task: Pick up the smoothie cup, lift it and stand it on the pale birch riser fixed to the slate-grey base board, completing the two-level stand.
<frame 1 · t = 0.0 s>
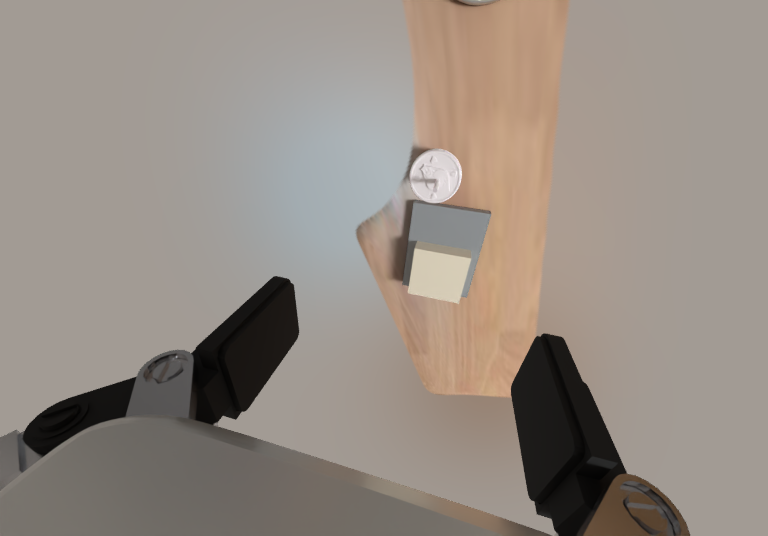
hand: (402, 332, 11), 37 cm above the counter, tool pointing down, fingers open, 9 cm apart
base board: (442, 249, 49), on the counter
smoothie: (439, 163, 42), on the counter
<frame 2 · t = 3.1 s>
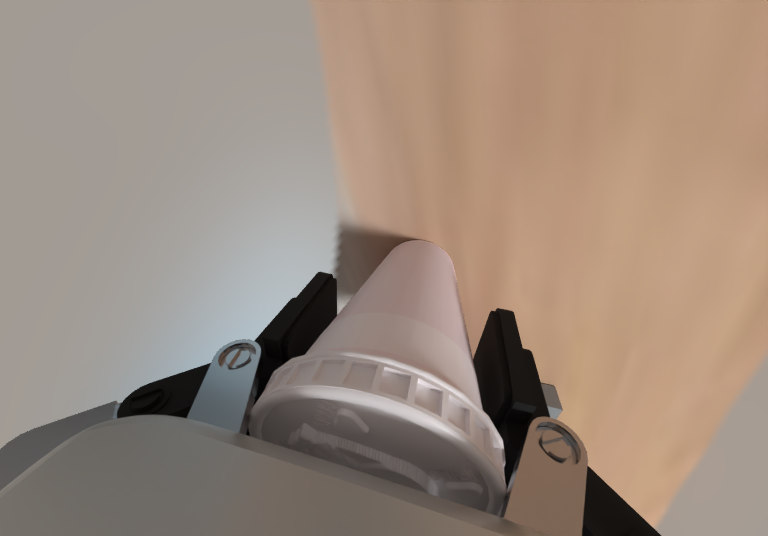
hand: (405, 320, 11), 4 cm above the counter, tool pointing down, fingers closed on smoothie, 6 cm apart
base board: (431, 430, 21), on the counter
smoothie: (418, 269, 15), on the counter, touching gripper
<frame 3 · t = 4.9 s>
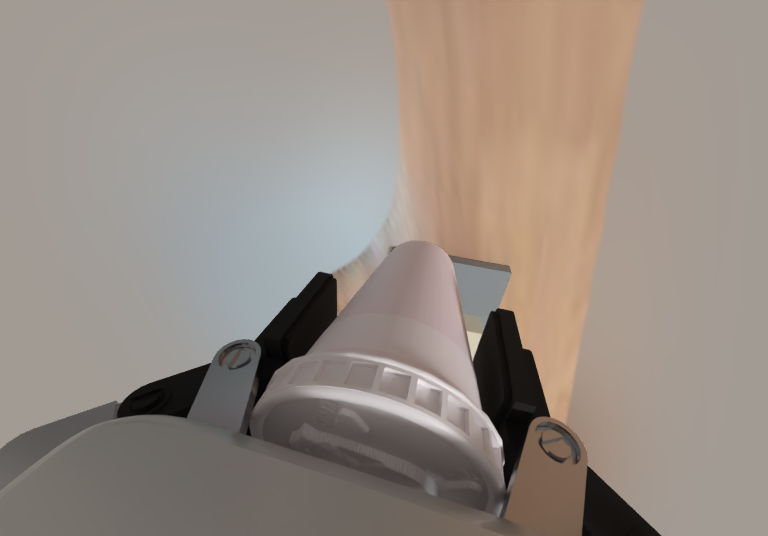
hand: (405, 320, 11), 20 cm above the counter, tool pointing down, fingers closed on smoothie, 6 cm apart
base board: (441, 311, 35), on the counter
smoothie: (418, 270, 15), point 16 cm above the counter, touching gripper
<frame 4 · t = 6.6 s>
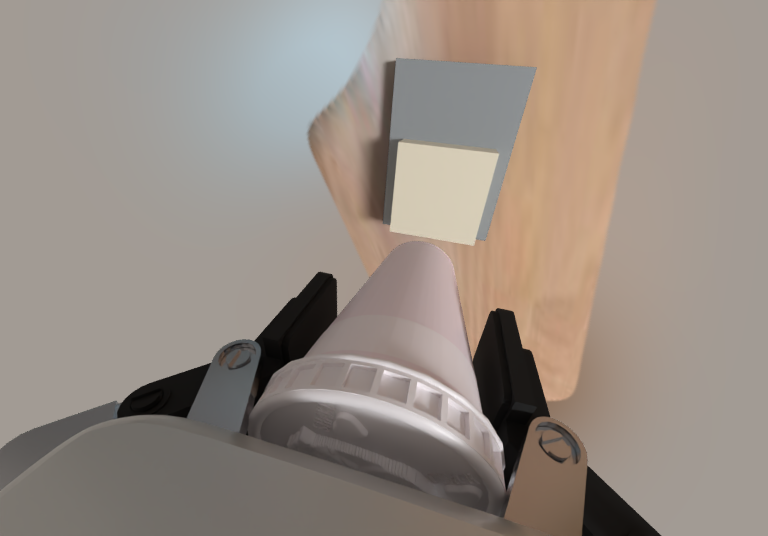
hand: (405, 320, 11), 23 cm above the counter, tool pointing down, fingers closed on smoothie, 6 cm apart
base board: (446, 157, 29), on the counter
smoothie: (418, 271, 15), point 19 cm above the counter, touching gripper
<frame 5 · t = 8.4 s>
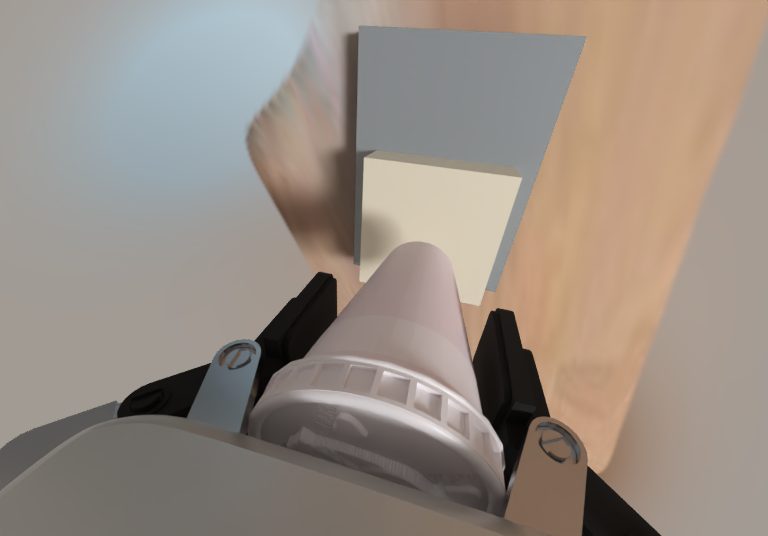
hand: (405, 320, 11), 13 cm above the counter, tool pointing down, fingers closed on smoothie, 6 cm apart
base board: (440, 176, 20), on the counter
smoothie: (418, 271, 15), point 9 cm above the counter, touching gripper
when the fingers open (10 cm above the counter, at t = 9.9 s): smoothie drops 1 cm, resting on base board.
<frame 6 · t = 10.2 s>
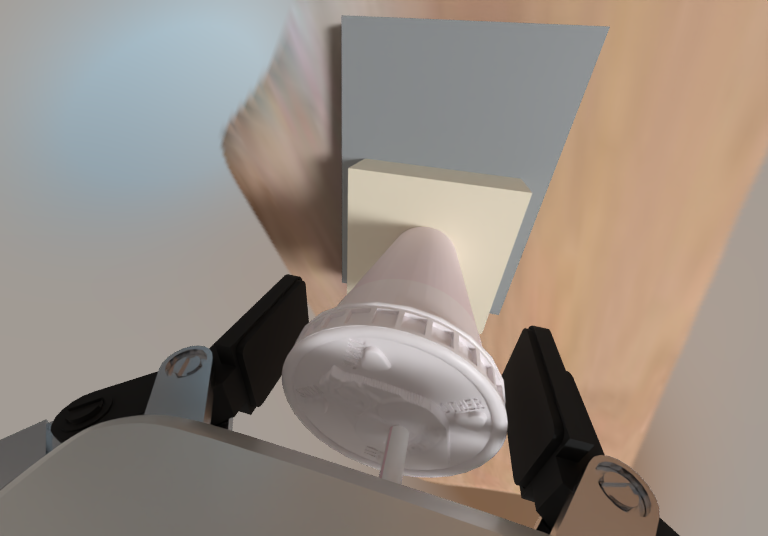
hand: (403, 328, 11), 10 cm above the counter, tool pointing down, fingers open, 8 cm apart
base board: (436, 187, 18), on the counter
smoothie: (423, 255, 16), point 4 cm above the counter, touching base board
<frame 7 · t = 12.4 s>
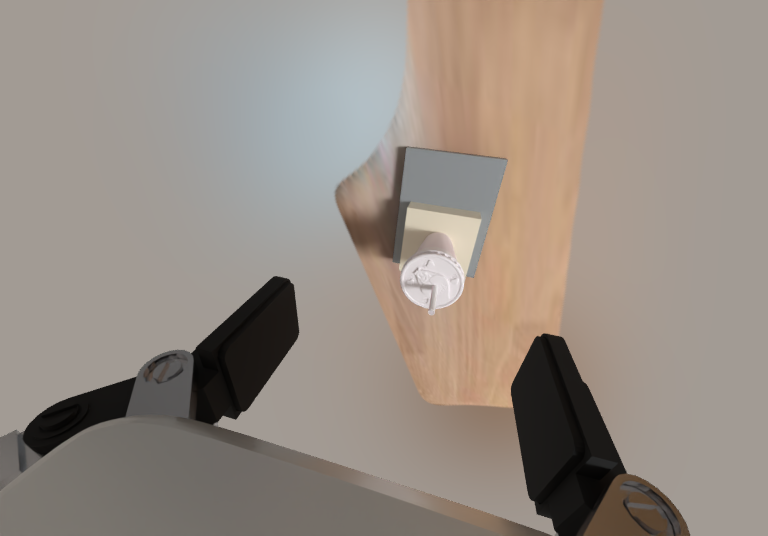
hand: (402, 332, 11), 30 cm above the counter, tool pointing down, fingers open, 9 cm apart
base board: (443, 214, 38), on the counter
smoothie: (437, 245, 36), point 4 cm above the counter, touching base board
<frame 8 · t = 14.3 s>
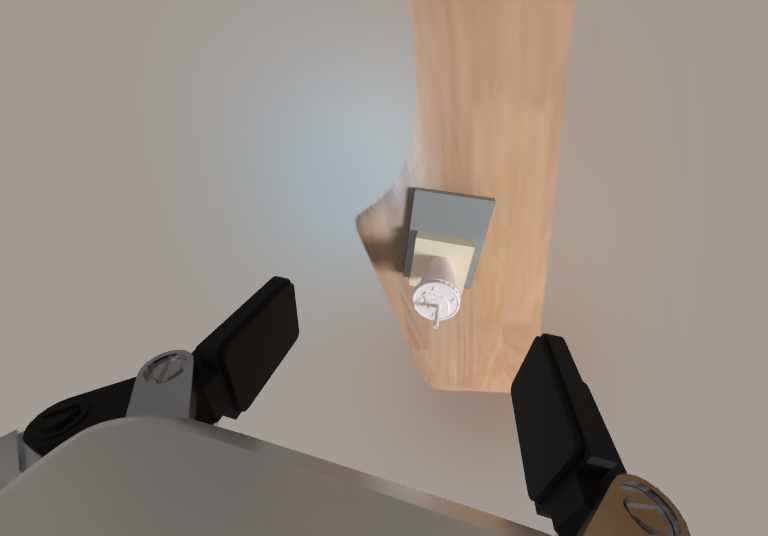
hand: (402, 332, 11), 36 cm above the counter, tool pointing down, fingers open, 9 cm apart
base board: (444, 239, 47), on the counter
smoothie: (440, 266, 45), point 4 cm above the counter, touching base board
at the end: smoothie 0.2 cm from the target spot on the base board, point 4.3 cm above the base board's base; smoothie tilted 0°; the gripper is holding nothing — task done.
